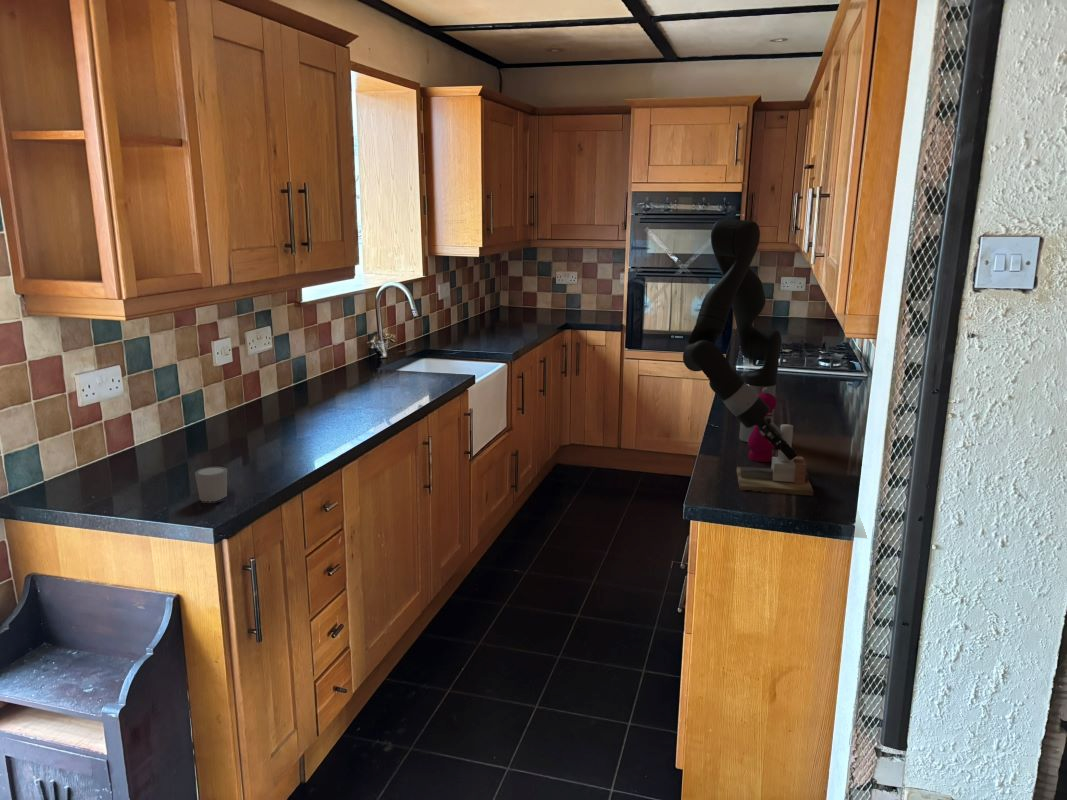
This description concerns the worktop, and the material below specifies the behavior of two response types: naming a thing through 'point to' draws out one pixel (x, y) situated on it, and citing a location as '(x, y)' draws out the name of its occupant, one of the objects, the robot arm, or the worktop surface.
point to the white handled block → (784, 458)
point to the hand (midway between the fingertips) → (792, 455)
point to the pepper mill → (757, 441)
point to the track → (763, 481)
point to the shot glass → (211, 483)
